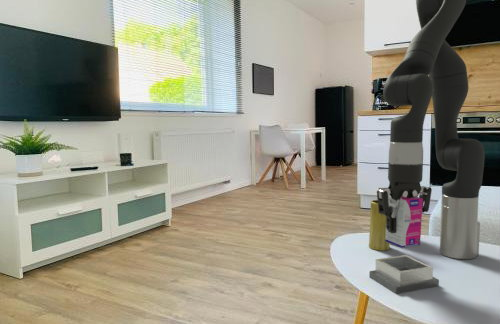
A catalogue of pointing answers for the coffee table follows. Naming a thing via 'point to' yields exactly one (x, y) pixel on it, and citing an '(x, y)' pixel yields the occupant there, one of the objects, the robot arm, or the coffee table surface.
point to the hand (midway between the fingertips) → (403, 230)
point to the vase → (377, 228)
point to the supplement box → (406, 223)
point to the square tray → (403, 274)
